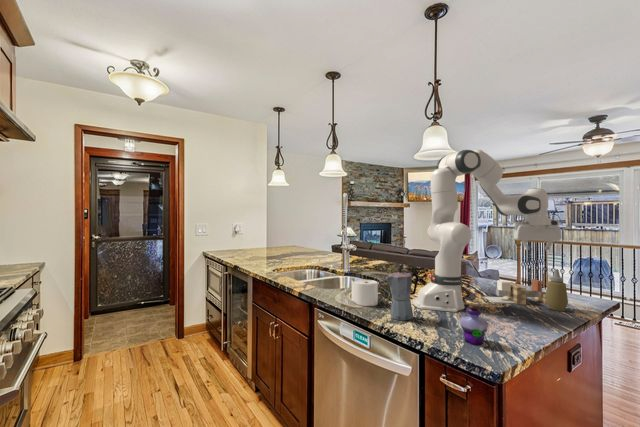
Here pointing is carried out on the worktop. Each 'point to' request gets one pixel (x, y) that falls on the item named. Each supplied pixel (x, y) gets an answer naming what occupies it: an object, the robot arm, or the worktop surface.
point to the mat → (500, 300)
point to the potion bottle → (474, 326)
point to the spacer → (504, 285)
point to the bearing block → (517, 294)
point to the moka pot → (401, 294)
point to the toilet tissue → (365, 292)
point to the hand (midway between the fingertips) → (537, 249)
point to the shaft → (529, 293)
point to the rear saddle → (542, 298)
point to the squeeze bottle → (556, 293)
